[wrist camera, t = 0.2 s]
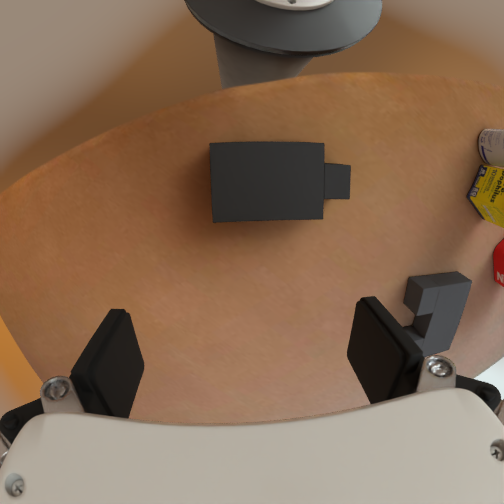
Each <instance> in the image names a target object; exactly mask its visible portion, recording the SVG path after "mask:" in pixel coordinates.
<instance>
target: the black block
mask: <svg viewBox="0 0 504 504" xmlns="http://www.w3.org/2000/svg"><path fill="white" fill-rule="evenodd" d="M350 172H351V166H350V165H343V164H331V163H324V143H310V142H225V143H210V173H211V196H212V215H213V223H216V222H240V221H269V220H311V219H323V205H324V199H350Z"/></svg>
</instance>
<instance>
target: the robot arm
mask: <svg viewBox="0 0 504 504" xmlns="http://www.w3.org/2000/svg"><path fill="white" fill-rule="evenodd" d="M255 1H257V2H259V3H262V4H265V5H268V6H271V7H276V8H280V9H286V10H313V9H317V8H321V7H324V6H326V5H328V4H330V3H332V2H333V1H334V0H255ZM347 357H348V360H349V362H350V364H351V366H352V368H353V370H354V372H355V373H356V375H357V377H358V379H359V381H360V383H361V385H362V387H363V389H364V391H365V393H366V395H367V397H368V399H369V401H370V403H371V404H370V405H366V406H361V407H357V408H352V409H347V410H342V411H337V412H332V413H326V414H320V415H314V416H307V417H300V418H292V419H283V420H273V421H262V422H246V423H174V422H159V421H148V420H137V419H128V418H129V414H130V411H131V408H132V405H133V402H134V399H135V395H136V392H137V389H138V386H139V383H140V380H141V377H142V374H143V371H144V361H143V358H142V355H141V351H140V348H139V345H138V341H137V338H136V335H135V331H134V327H133V324H132V320H131V316H130V314H129V313H126V311H125V310H124V309H111V310H110V311H109V312H108V314H107V315H106V317H105V318H104V320H103V321H102V323H101V324H100V326H99V327H98V329H97V330H96V332H95V333H94V335H93V337H92V338H91V340H90V341H89V343H88V344H87V346H86V348H85V349H84V351H83V352H82V354H81V356H80V357H79V359H78V360H77V362H76V364H75V365H74V367H73V369H72V370H71V375H70V377H69V378H68V377H66V376H55V377H52V378H50V379H48V380H47V381H46V382H44V384H43V385H42V387H41V390H40V396H41V398H39V399H37V400H35V401H32V402H30V403H27V404H25V405H23V406H21V407H18V408H15V409H13V410H11V411H9V412H7V413H6V414H4V415H3V416H2V418H1V420H0V504H504V399H503V400H501V394H500V392H499V390H498V389H497V388H496V387H495V386H493V385H491V384H489V383H485V382H482V381H478V380H475V379H471V378H467V377H464V376H460V375H457V374H456V367H455V365H454V363H453V362H452V361H451V360H450V359H448V358H446V357H444V356H441V355H431V356H429V357H427V358H426V359H425V358H424V356H423V351H422V350H421V349H420V348H419V346H418V345H417V344H416V343H415V342H414V340H413V339H412V338H411V337H410V336H409V334H408V333H407V332H406V331H405V330H404V329H403V328H402V326H401V325H400V324H399V323H398V322H397V321H396V319H395V318H394V317H393V316H392V315H391V314H390V313H389V312H388V310H387V309H386V308H385V307H384V306H383V305H382V304H381V303H380V301H379V300H378V299H377V298H376V297H375V296H371V297H362V298H361V299H360V301H358V302H357V303H356V308H355V314H354V320H353V325H352V330H351V335H350V340H349V345H348V350H347Z"/></svg>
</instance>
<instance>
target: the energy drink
mask: <svg viewBox="0 0 504 504" xmlns="http://www.w3.org/2000/svg"><path fill="white" fill-rule="evenodd" d="M479 151H480V154H481V157H482V158H483V160H484V161H485V163H487V164H489V165H494V166H499V167H504V130H500V129H484V130H483V131H482V132H481V134H480V136H479Z"/></svg>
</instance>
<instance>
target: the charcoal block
mask: <svg viewBox="0 0 504 504" xmlns="http://www.w3.org/2000/svg"><path fill="white" fill-rule="evenodd" d="M471 284H472V281H471V280H470V279H468V278H467V277H465V276H464V275H462V274H461V273H459V272H458V271H457V272H450V273H442V274H433V275H426V276H425V275H424V276H415V277H409V280H408V285H407V290H406V294H405V298H404V304H405V305H406V306H407V307H408V308H409V309H410V310H411V311H412V312H413V313H414V314H415V315H416V316H415V319H414V323H413V326H407V327H402V328H403V329H404V330H405V331H406V332H407V333H408V334H409V336H410V337H411V338H412V339H413V340H414V342H415V343H416V344H417V345H418V346H419V348H420V349H421V350H422V351H423V356H424V357H427V356H430V355H434V354H437V353H440V352H443V351H446V350H449V348H450V345H451V343H452V340H453V338H454V335H455V333H456V330H457V327H458V325H459V322H460V319H461V316H462V313H463V310H464V307H465V304H466V301H467V297H468V294H469V291H470V287H471Z"/></svg>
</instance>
